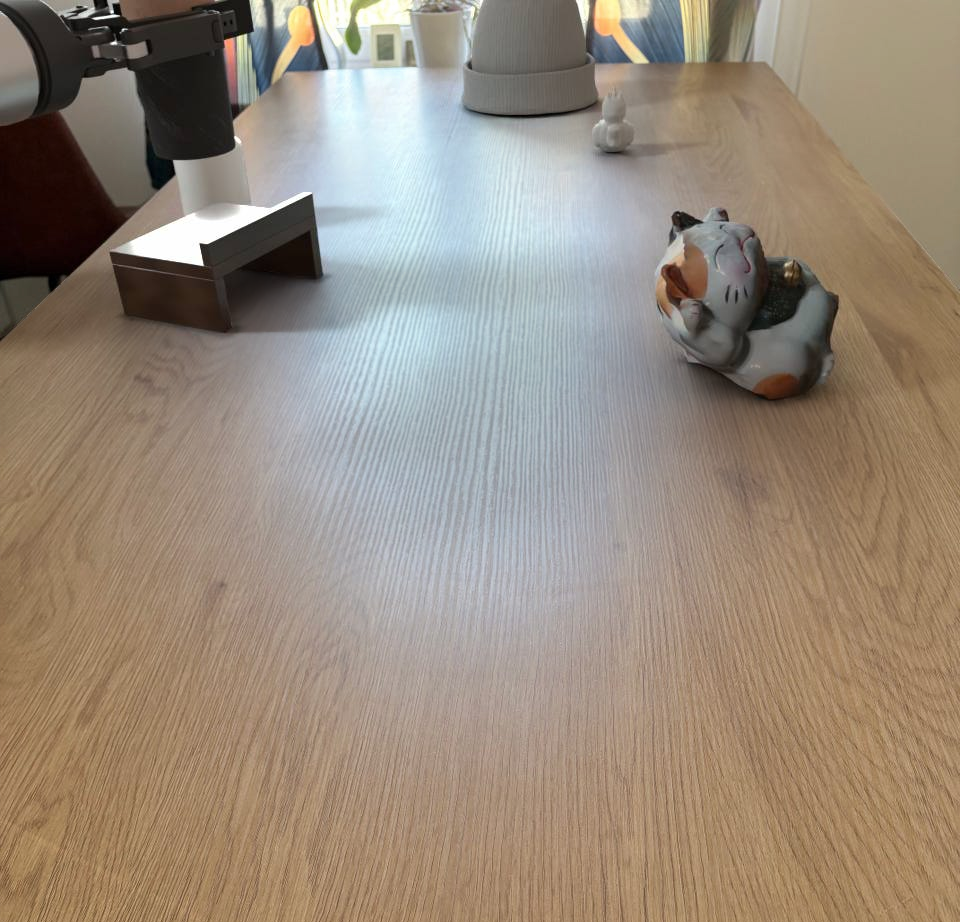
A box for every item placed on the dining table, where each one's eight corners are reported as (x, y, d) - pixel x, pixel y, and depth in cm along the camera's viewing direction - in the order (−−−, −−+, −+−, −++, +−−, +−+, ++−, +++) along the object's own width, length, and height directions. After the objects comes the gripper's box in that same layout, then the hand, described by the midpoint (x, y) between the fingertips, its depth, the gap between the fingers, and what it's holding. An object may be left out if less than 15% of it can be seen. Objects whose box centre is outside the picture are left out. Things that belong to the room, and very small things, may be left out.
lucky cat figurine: (825, 413, 80) (758, 259, 72) (680, 440, 88) (604, 304, 80) (858, 289, 88) (801, 137, 80) (722, 324, 96) (657, 188, 87)
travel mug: (160, 166, 91) (99, -123, 79) (144, 146, 97) (85, -126, 84) (248, 153, 93) (203, -130, 81) (228, 134, 99) (182, -133, 87)
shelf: (124, 314, 102) (103, 228, 97) (228, 260, 113) (214, 181, 108) (224, 333, 98) (207, 243, 93) (323, 275, 109) (312, 192, 104)
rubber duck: (631, 145, 144) (634, 79, 139) (635, 158, 138) (638, 90, 134) (590, 146, 144) (592, 80, 139) (592, 159, 139) (594, 91, 134)
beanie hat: (601, 149, 173) (611, 15, 170) (584, 106, 152) (596, -48, 149) (474, 149, 177) (481, 18, 174) (441, 107, 157) (449, -43, 153)
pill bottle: (173, 224, 124) (152, 121, 117) (231, 209, 128) (213, 108, 121) (209, 238, 119) (188, 132, 112) (267, 222, 123) (251, 118, 116)
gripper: (-76, 110, 83) (128, 54, 98) (126, 131, 75) (313, 67, 90) (-113, -2, 78) (107, -42, 94) (98, 7, 70) (300, -38, 86)
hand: (208, 11), depth 92 cm, fingers closed on travel mug, 8 cm apart
